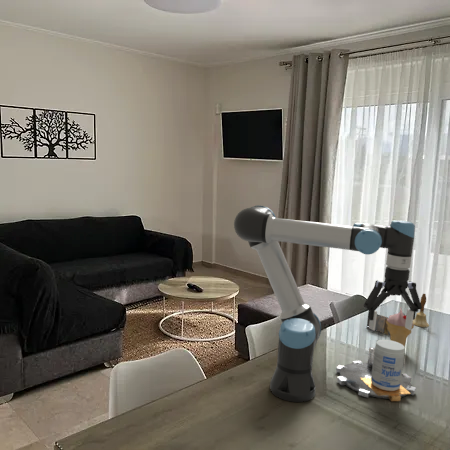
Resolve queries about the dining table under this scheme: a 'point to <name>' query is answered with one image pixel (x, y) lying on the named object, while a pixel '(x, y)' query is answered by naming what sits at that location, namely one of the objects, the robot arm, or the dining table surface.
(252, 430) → the dining table surface
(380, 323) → the ruin model on sheet
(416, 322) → the hand bell
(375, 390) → the sprocket
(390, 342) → the supplement tub
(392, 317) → the ice cream cone
